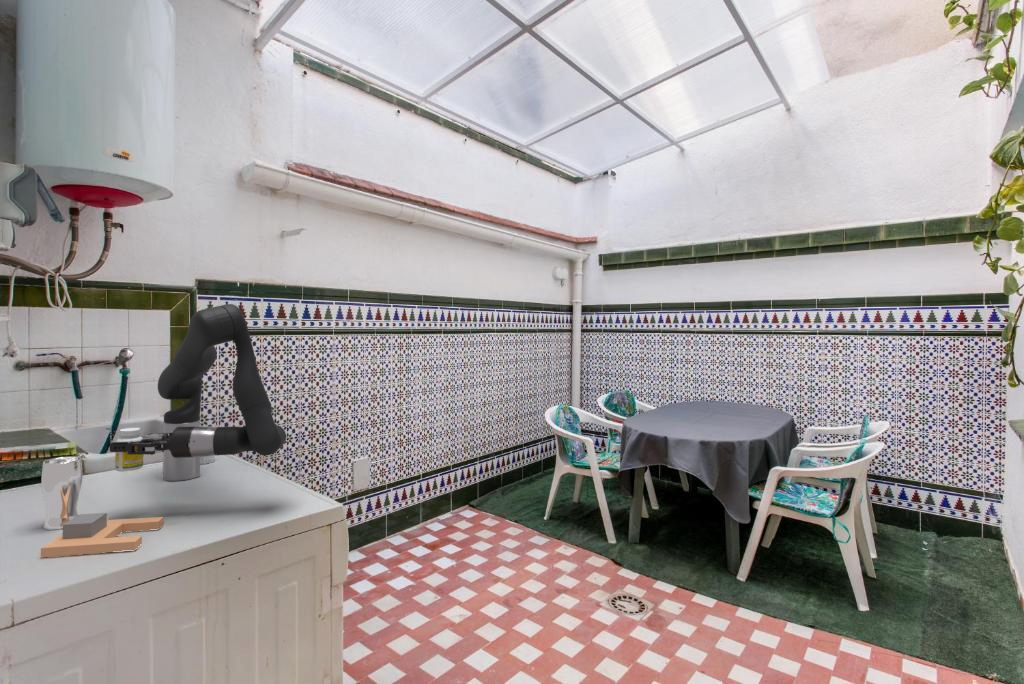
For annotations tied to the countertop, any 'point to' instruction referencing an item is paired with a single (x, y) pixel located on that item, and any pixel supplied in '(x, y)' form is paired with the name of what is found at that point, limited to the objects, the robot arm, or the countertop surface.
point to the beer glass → (61, 490)
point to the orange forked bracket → (98, 535)
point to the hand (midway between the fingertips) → (117, 444)
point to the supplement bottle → (123, 458)
